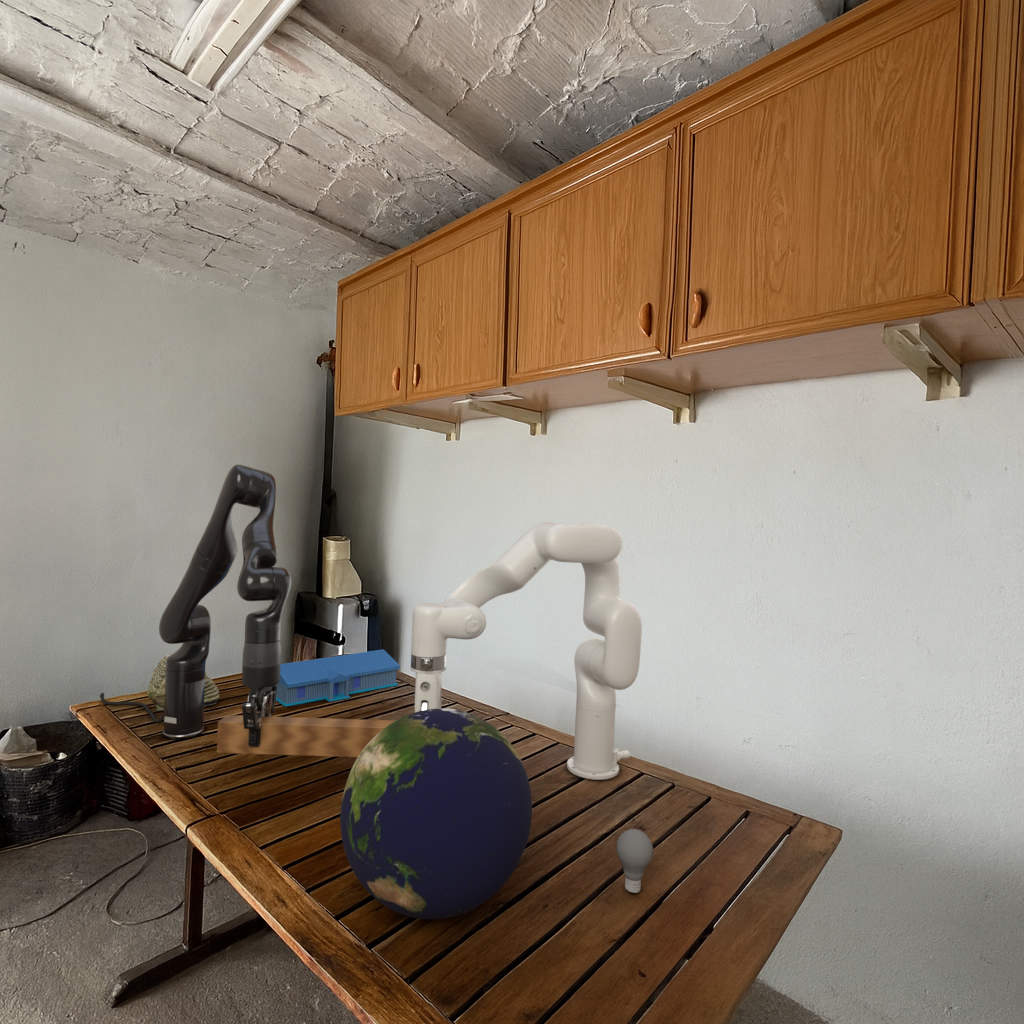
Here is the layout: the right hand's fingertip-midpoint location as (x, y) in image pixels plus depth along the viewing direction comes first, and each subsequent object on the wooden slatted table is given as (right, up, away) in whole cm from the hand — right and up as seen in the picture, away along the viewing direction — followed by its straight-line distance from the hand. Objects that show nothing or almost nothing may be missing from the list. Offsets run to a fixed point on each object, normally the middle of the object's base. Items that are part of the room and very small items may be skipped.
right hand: (425, 746), depth 135 cm
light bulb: (+39, -13, -30) cm, 50 cm away
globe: (+6, -12, -35) cm, 37 cm away
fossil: (-77, -7, +50) cm, 92 cm away
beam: (-18, -1, 0) cm, 18 cm away
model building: (-40, -8, +73) cm, 84 cm away
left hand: (-35, +1, -1) cm, 35 cm away
